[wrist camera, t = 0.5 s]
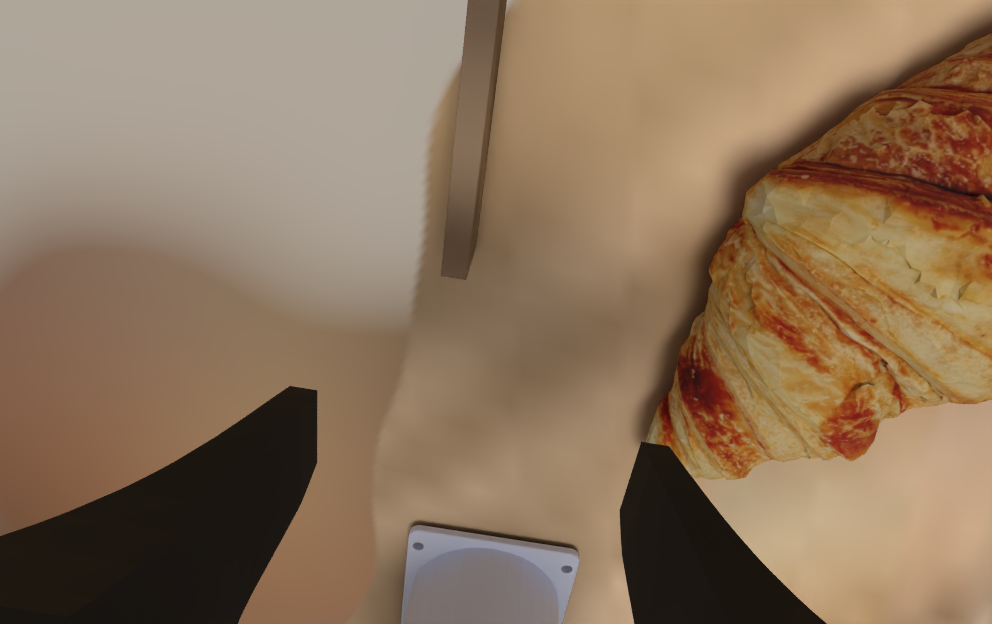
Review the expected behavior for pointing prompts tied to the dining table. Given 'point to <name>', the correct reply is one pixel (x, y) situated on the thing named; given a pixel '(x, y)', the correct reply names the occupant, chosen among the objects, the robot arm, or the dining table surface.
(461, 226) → the frame
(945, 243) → the croissant
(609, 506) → the dining table surface
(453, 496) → the dining table surface
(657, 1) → the dining table surface
